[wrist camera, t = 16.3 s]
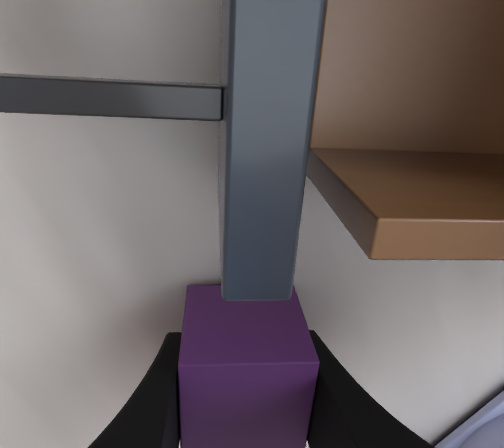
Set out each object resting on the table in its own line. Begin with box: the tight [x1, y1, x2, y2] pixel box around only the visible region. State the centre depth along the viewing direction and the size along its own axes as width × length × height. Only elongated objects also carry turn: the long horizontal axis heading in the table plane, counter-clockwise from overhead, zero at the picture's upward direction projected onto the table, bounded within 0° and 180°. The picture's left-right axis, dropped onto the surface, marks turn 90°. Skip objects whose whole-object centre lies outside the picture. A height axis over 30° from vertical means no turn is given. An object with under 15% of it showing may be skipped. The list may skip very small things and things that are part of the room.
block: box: [178, 285, 320, 448], centre depth 13 cm, size 4×4×4 cm
